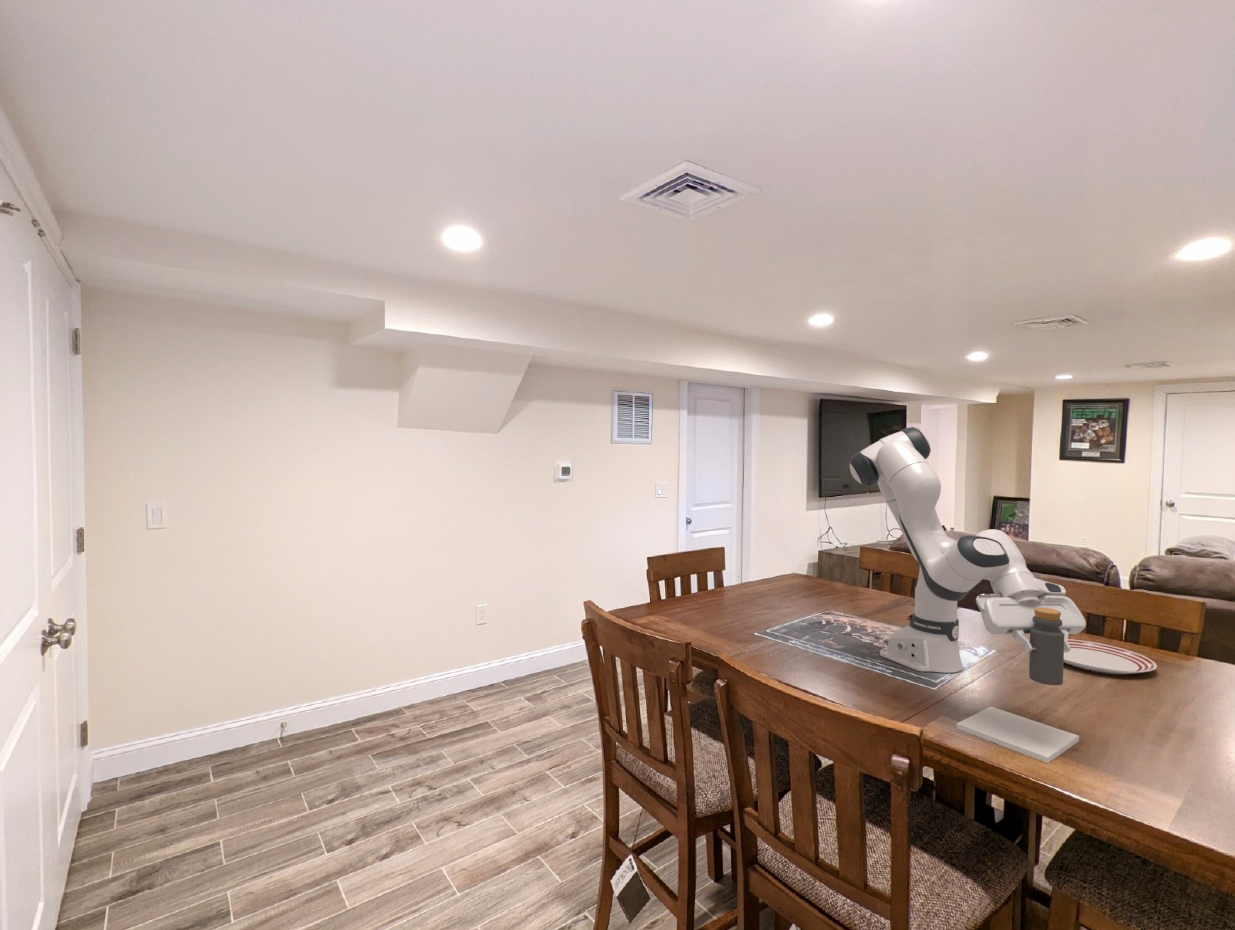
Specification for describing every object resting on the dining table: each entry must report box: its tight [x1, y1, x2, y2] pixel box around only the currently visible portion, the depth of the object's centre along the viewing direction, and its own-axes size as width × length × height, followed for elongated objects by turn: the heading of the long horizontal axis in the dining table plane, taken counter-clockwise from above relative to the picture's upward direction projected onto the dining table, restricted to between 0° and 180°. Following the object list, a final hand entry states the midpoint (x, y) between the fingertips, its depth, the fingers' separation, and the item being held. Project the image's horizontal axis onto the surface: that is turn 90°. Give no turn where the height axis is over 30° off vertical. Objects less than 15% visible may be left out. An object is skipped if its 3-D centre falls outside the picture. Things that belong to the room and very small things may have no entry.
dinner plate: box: [1064, 638, 1158, 675], centre depth 176 cm, size 28×27×3 cm
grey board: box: [956, 706, 1080, 764], centre depth 133 cm, size 18×16×1 cm
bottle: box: [1028, 607, 1065, 686], centre depth 126 cm, size 6×6×15 cm
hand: (1048, 651), depth 125 cm, fingers closed on bottle, 6 cm apart
